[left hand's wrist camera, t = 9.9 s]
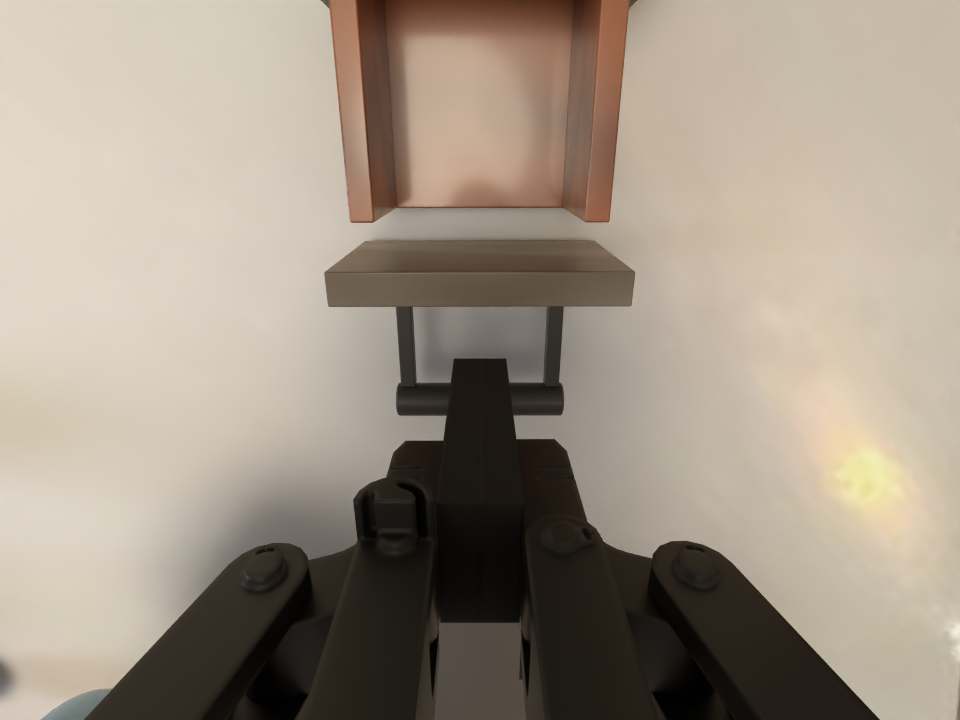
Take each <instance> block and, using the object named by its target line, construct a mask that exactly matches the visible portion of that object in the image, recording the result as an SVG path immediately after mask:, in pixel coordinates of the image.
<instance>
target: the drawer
mask: <svg viewBox="0 0 960 720" xmlns="http://www.w3.org/2000/svg"><path fill="white" fill-rule="evenodd" d="M329 6H330V17H331V27H332V38H333V48H334V59H335V69H336V80H337V90H338V101H339V111H340V122H341V132H342V143H343V153H344V164H345V174H346V185H347V195H348V206H349V216H350V222H352V223H373V222H375V221H376V220H378V219H380V218H381V217H383V216H384V215H386V214H387V213H389V212H391V211H392V210H394V209H395V208H564V209H566V210H567V211H569V212H571V213H572V214H574V215H575V216H577V217H578V218H580V219H581V220H583V221H585V222H609V219H610V208H611V198H612V187H613V176H614V165H615V154H616V143H617V132H618V121H619V110H620V99H621V88H622V77H623V66H624V55H625V44H626V33H627V22H628V11H629V0H329ZM324 275H325V283H326V292H327V300H328V306H329V307H396V314H397V329H398V344H399V359H400V374H401V383H399V384H398V387H397V392H396V408H397V413H398V415H400V416H447V410H448V402H449V394H450V386H451V383H416V381H417V378H416V360H415V341H414V322H413V307H500V306H547V317H546V337H545V358H544V378H543V381H544V383H509V386H510V394H511V402H512V410H513V415H562V413H563V408H564V392H563V386H562V384H561V383H559V373H560V357H561V341H562V325H563V308H564V306H631V305H632V296H633V287H634V278H635V271H633V270H632V269H631V268H629V267H628V266H627V265H625V264H624V263H623V262H621V261H620V260H619V259H617V258H616V257H615V256H614V255H612V254H611V253H610V252H608V251H607V250H606V249H604V248H603V247H602V246H600V245H599V244H598V243H596V242H595V241H365V242H364V243H362V244H361V245H360V246H359V247H357V248H356V249H355V250H353V251H352V252H351V253H349V254H348V255H347V256H345V257H344V258H343V259H341V260H340V261H339V262H337V263H336V264H335V265H333V266H332V267H331V268H329V269H328V270H327V271H326V272H325V273H324Z"/></svg>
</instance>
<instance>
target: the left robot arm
mask: <svg viewBox="0 0 960 720" xmlns="http://www.w3.org/2000/svg"><path fill="white" fill-rule="evenodd" d="M353 502H354V511H355V520H356V529H357V538H358V540H357V544H355V545H354V546H352V547H350V548H348V549H346V550H344V551H342V552H339V553H336V554H333V555H329V556H325V557H321V558H317V559H312V560H308V557H307V555H306V554H305V553H304V552H303V551H302V549H301V548H299V547H296V546H294V545H291V544H288V543H272V544H268V545H263V546H259V547H256V548H254V549H252V550H250V551H248V552H246V553H244V554H242V555H240V556H239V557H238V558H237V559H235V560H234V561H233V562H232V563H230V564H229V565H228V566H227V567H226V568H225V569H224V570H223V572H222V573H221V574H220V575H219V576H218V577H217V578H216V579H215V580H214V581H213V582H212V583H211V584H210V585H209V586H208V588H207V589H206V590H205V591H204V592H203V593H202V594H201V595H200V596H199V597H198V598H197V599H196V600H195V601H194V603H193V604H192V605H191V606H190V607H189V608H188V609H187V610H186V611H185V612H184V613H183V614H182V615H181V616H180V617H179V619H178V620H177V621H176V622H175V623H174V624H173V625H172V626H171V627H170V628H169V629H168V630H167V631H166V632H165V633H164V635H163V636H162V637H161V638H160V639H159V640H158V641H157V642H156V643H155V644H154V645H153V646H152V647H151V648H150V649H149V651H148V652H147V653H146V654H145V655H144V656H143V657H142V658H141V659H140V660H139V661H138V662H137V663H136V664H135V666H134V667H133V668H132V669H131V670H130V671H129V672H128V673H127V674H126V675H125V676H124V677H123V678H122V679H121V680H120V682H119V683H118V684H117V685H116V686H115V687H114V688H113V689H100V690H94V691H90V692H87V693H84V694H81V695H78V696H76V697H74V698H72V699H70V700H68V701H66V702H64V703H63V704H61V705H60V706H58V707H57V708H55V709H54V710H52V711H51V712H50V713H48V714H47V715H46V716H45V717H43V718H42V719H41V720H880V719H879V718H878V717H877V716H876V715H875V714H874V713H873V712H872V711H871V710H870V709H869V708H868V707H867V706H866V705H865V704H864V702H863V701H862V700H861V699H860V698H859V697H858V696H857V695H856V694H855V693H854V692H853V691H852V690H851V689H850V688H849V687H848V686H847V684H846V683H845V682H844V681H843V680H842V679H841V678H840V677H839V676H838V675H837V674H836V673H835V672H834V671H833V670H832V669H831V667H830V666H829V665H828V664H827V663H826V662H825V661H824V660H823V659H822V658H821V657H820V656H819V655H818V654H817V653H816V652H815V651H814V649H813V648H812V647H811V646H810V645H809V644H808V643H807V642H806V641H805V640H804V639H803V638H802V637H801V636H800V635H799V634H798V632H797V631H796V630H795V629H794V628H793V627H792V626H791V625H790V624H789V623H788V622H787V621H786V620H785V619H784V618H783V617H782V616H781V614H780V613H779V612H778V611H777V610H776V609H775V608H774V607H773V606H772V605H771V604H770V603H769V602H768V601H767V600H766V599H765V597H764V596H763V595H762V594H761V593H760V592H759V591H758V590H757V589H756V588H755V587H754V586H753V585H752V584H751V583H750V582H749V581H748V579H747V578H746V577H745V576H744V575H743V574H742V573H741V572H740V571H739V570H738V569H737V568H736V567H735V566H734V565H733V564H732V563H731V562H730V561H729V560H728V559H726V558H725V557H724V556H723V555H721V554H720V553H719V552H717V551H715V550H713V549H711V548H709V547H707V546H705V545H702V544H697V543H693V542H689V541H671V542H669V543H666V544H664V545H661V546H659V548H658V549H657V550H656V551H655V552H654V554H653V557H652V558H648V557H643V556H639V555H635V554H631V553H627V552H624V551H621V550H618V549H616V548H614V547H612V546H610V545H608V544H606V543H605V542H603V540H602V538H601V536H600V534H599V533H598V531H597V529H596V528H594V527H593V526H592V525H590V524H589V523H588V522H587V519H586V515H585V512H584V509H583V505H582V502H581V498H580V495H579V492H578V488H577V485H576V481H575V479H574V475H573V471H572V468H571V464H570V461H569V457H568V454H567V451H566V450H565V449H564V448H563V447H562V446H561V445H560V444H559V443H558V442H557V441H556V440H555V439H516V433H515V425H514V418H513V410H512V402H511V394H510V386H509V378H508V371H507V363H506V359H454V363H453V371H452V378H451V386H450V394H449V402H448V410H447V417H446V425H445V433H444V441H405V442H404V443H403V444H402V445H401V446H400V447H399V448H398V449H397V450H396V451H395V452H394V453H393V456H392V459H391V463H390V466H389V470H388V473H387V477H386V478H383V479H380V480H377V481H375V482H372V483H370V484H368V485H367V486H365V487H364V488H362V489H361V490H360V491H359V492H358V494H357V495H356V497H355V498H354V499H353Z"/></svg>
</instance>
